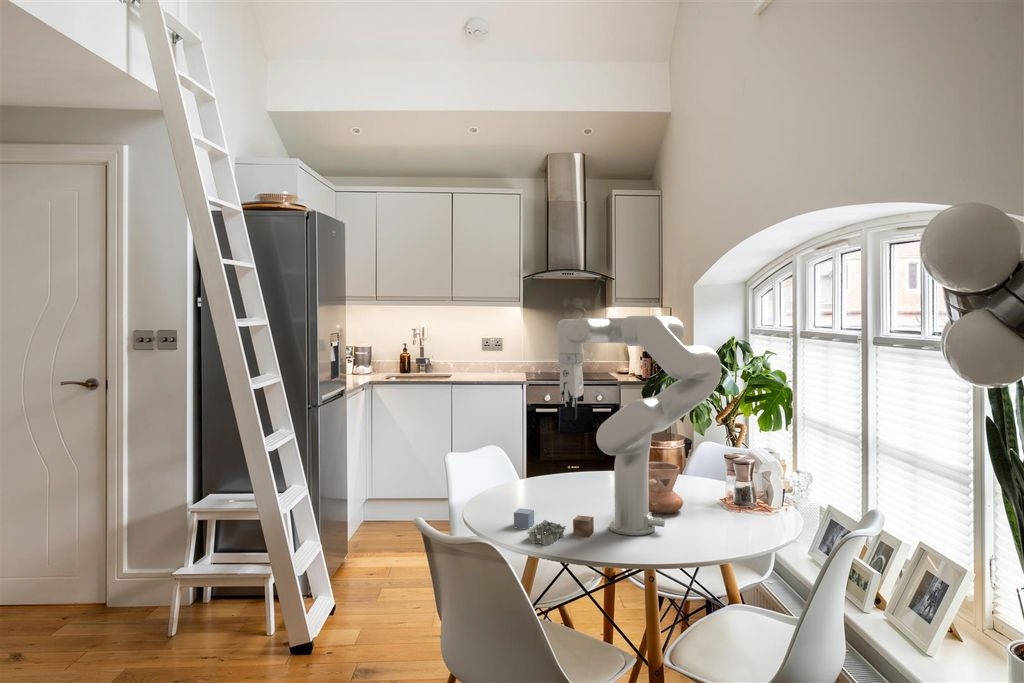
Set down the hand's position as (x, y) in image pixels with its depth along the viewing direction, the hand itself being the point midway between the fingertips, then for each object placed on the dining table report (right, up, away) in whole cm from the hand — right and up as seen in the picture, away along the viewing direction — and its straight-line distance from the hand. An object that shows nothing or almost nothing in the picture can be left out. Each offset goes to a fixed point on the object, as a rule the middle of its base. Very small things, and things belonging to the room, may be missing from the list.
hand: (571, 419), depth 195 cm
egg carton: (-9, -30, -22) cm, 38 cm away
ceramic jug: (+28, -29, +4) cm, 40 cm away
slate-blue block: (-15, -30, -11) cm, 35 cm away
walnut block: (+2, -30, -19) cm, 35 cm away
